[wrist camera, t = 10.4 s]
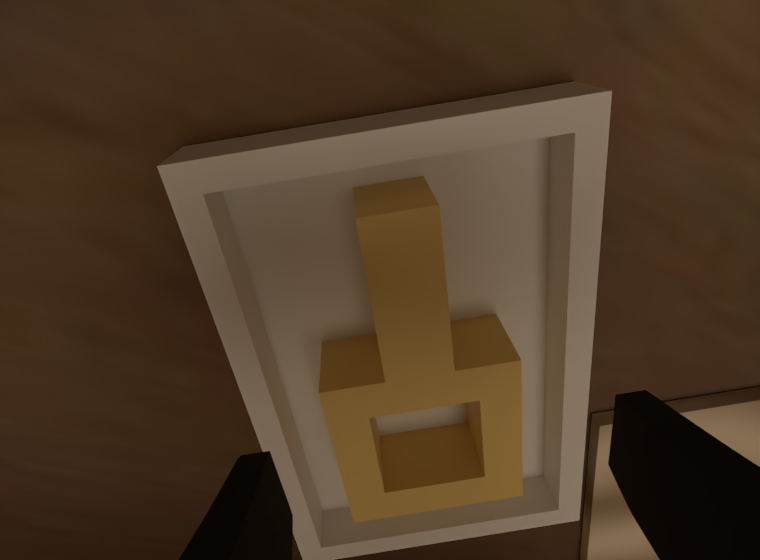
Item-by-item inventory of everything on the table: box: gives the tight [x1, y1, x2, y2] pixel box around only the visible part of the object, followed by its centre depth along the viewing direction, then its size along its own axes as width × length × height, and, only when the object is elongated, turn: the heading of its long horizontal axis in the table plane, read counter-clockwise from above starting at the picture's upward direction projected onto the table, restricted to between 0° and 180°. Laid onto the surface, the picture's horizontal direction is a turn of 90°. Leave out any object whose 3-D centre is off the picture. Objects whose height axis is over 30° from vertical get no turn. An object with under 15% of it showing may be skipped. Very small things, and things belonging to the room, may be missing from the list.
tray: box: [157, 82, 612, 560], centre depth 19 cm, size 19×13×2 cm
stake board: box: [580, 387, 760, 560], centre depth 23 cm, size 13×12×6 cm
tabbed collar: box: [319, 176, 523, 523], centre depth 18 cm, size 13×7×3 cm, turn 8°
